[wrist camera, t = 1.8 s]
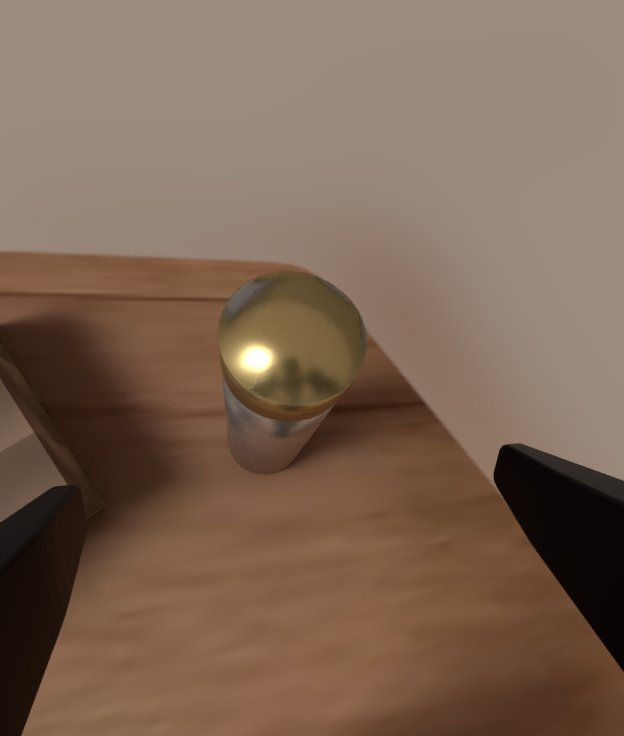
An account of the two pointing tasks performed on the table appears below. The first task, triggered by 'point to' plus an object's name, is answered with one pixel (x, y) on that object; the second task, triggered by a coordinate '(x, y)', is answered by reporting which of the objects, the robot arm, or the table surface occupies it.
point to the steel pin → (285, 364)
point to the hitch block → (33, 448)
